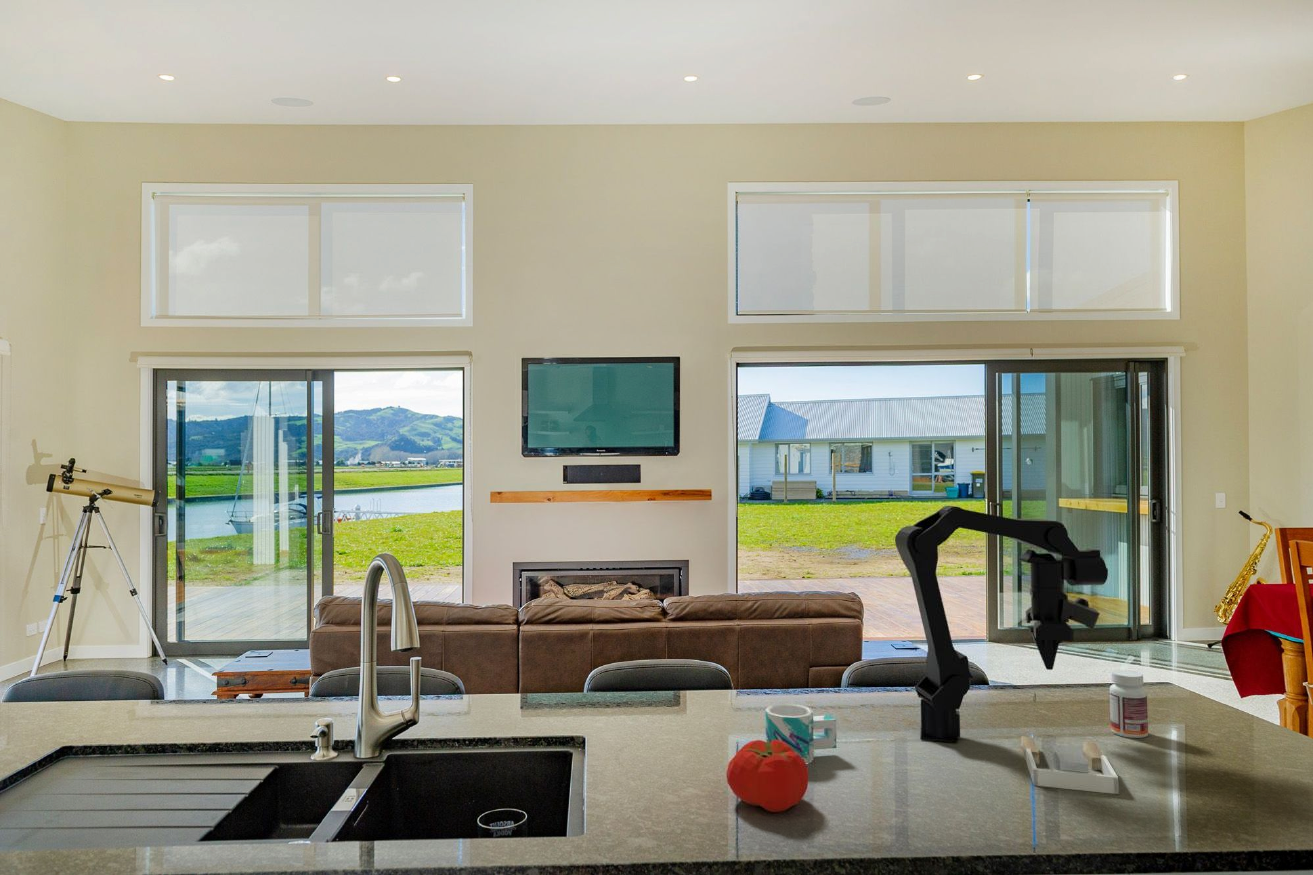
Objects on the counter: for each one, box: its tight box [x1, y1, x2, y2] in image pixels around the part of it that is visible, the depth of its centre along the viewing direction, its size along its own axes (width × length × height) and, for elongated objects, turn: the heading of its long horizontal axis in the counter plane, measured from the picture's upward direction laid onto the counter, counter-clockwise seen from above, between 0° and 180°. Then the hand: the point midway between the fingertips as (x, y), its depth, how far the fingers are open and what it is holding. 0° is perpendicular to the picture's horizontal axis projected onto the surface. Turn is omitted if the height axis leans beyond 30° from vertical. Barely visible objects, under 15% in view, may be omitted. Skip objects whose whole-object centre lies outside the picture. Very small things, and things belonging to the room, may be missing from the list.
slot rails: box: [1020, 735, 1103, 771], centre depth 142 cm, size 12×8×2 cm, turn 72°
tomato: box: [725, 739, 809, 813], centre depth 125 cm, size 13×12×8 cm
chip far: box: [1052, 744, 1084, 770], centre depth 136 cm, size 4×4×4 cm
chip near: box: [1056, 753, 1090, 774], centre depth 132 cm, size 4×4×4 cm
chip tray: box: [1025, 748, 1120, 795], centre depth 134 cm, size 12×10×2 cm
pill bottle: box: [1109, 669, 1149, 739], centre depth 155 cm, size 6×6×11 cm
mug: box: [765, 703, 837, 764], centre depth 144 cm, size 8×12×8 cm
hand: (1049, 669), depth 156 cm, fingers closed
